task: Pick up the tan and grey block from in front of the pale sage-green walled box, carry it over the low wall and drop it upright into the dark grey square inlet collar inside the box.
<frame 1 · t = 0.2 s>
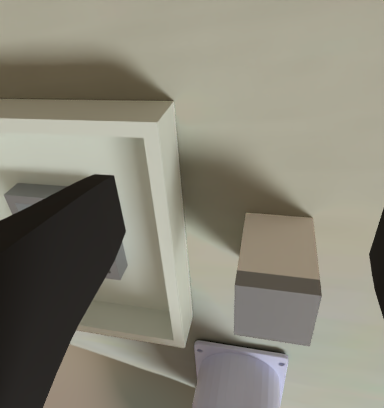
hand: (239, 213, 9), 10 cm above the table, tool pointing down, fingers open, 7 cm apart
tan and grey block: (276, 239, 22), on the table
walled box: (78, 222, 25), on the table
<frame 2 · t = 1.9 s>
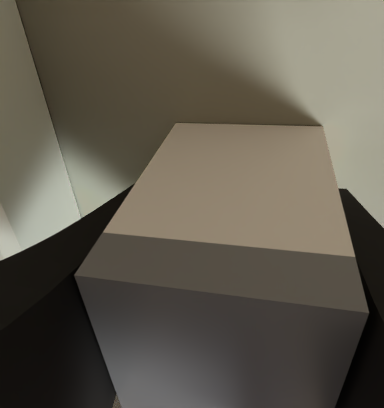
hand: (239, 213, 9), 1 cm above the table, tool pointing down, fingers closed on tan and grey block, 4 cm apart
tan and grey block: (244, 186, 11), on the table, touching gripper
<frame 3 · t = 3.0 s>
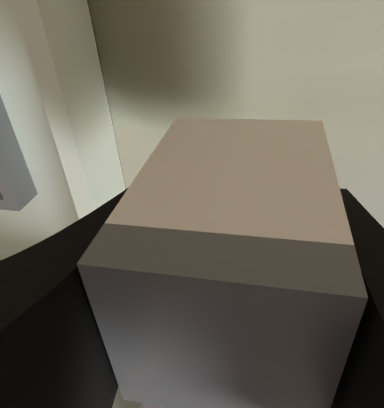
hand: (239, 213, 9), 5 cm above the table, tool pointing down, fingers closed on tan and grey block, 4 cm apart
tan and grey block: (244, 181, 11), point 4 cm above the table, touching gripper
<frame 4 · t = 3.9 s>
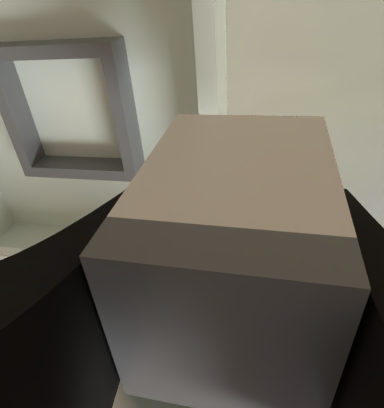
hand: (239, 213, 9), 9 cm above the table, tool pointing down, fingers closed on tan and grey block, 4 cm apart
tan and grey block: (245, 177, 11), point 7 cm above the table, touching gripper
walled box: (80, 106, 19), on the table
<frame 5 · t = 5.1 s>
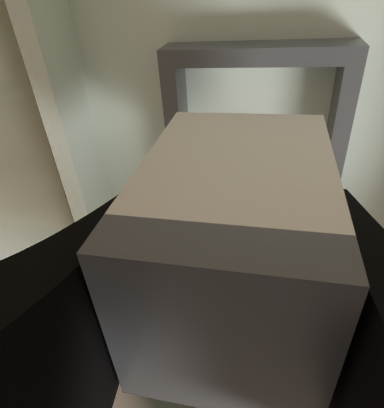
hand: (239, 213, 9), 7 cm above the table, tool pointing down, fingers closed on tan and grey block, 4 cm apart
tan and grey block: (244, 176, 11), point 5 cm above the table, touching gripper
walled box: (255, 125, 15), on the table
when the fingers open (4 cm above the table, at t = 6.0 s): tan and grey block drops 2 cm, resting on walled box.
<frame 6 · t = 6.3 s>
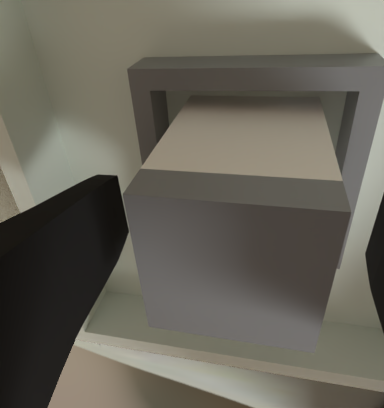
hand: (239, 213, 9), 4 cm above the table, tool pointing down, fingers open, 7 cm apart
tan and grey block: (249, 153, 12), resting on walled box
walled box: (250, 152, 12), on the table
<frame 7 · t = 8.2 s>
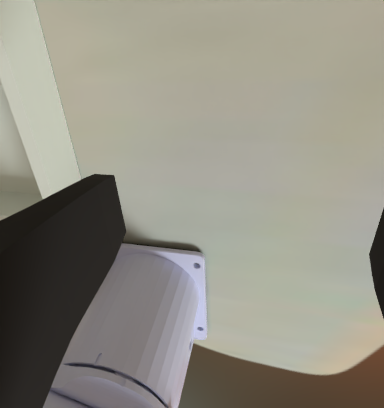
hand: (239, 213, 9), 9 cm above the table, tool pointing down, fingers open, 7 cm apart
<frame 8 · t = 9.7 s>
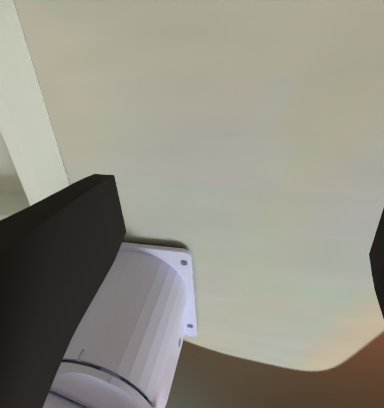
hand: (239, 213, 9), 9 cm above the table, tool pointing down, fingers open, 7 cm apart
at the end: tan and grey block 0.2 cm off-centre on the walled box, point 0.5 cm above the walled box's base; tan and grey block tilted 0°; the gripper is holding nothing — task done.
